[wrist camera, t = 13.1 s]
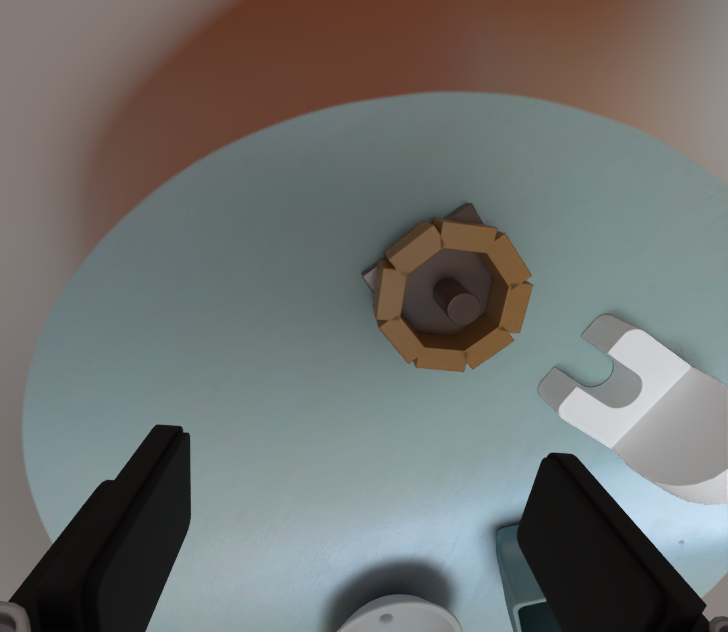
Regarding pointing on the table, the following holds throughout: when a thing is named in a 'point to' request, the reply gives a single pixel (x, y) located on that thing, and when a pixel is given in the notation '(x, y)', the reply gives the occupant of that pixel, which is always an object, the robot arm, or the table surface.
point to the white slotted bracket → (651, 412)
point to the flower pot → (522, 587)
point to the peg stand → (445, 287)
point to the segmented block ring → (481, 334)
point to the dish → (401, 616)
